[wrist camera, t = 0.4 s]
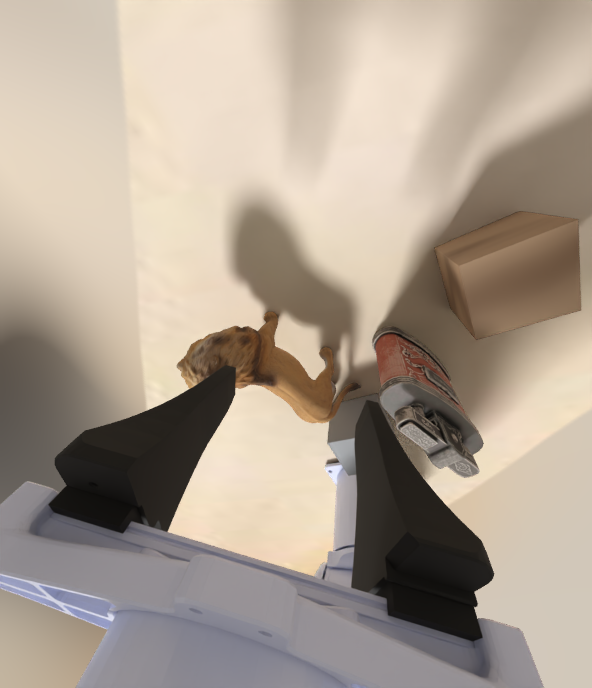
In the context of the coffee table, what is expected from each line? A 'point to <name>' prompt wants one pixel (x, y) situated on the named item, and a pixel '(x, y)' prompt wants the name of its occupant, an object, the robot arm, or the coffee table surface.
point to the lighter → (425, 402)
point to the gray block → (348, 430)
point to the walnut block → (512, 272)
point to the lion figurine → (265, 369)
